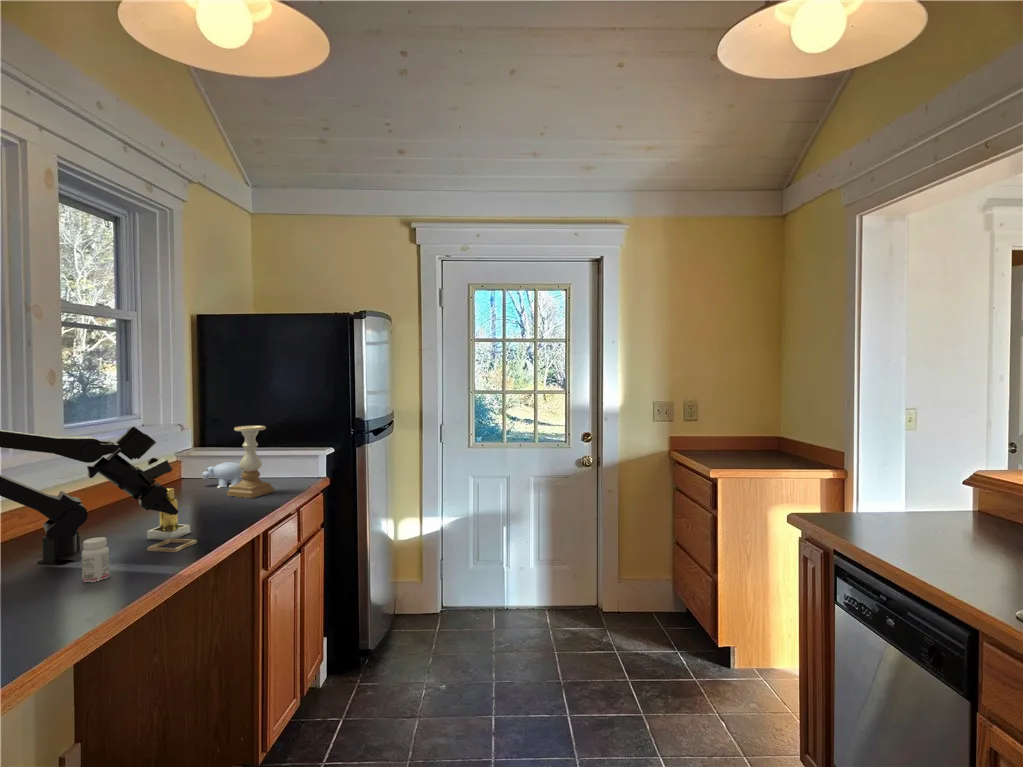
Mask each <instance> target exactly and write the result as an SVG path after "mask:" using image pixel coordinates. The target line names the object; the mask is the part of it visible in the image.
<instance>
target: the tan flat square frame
mask: <svg viewBox="0 0 1023 767" xmlns="http://www.w3.org/2000/svg"><path fill="white" fill-rule="evenodd" d="M197 542H198V539H190V538H176V539H172V538H170V539H167V540H161V541H160V542H158V543H155V544H152V545H150V546H148V547H146V551H147V552H164V553H165V552H167V553H177V552H179V551H181V550H184V549H186V548H188V547H190V546H193V545H195V544H197ZM169 543H178V544H179V543H180V544H181V545H179V546H176V547H163V546H165V545H167V544H169Z"/></svg>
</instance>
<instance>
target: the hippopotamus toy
mask: <svg viewBox="0 0 1023 767" xmlns="http://www.w3.org/2000/svg"><path fill="white" fill-rule="evenodd" d="M242 473H243V470H241V469H240V467H239V463H238V462H234V461H233V462H229V461H228V462H221V463H218V464H216V465H215V466H214V465H211V466H209V467H207V468H206V470H205V471H202V473H201V477H202V480H208V479H211V478H216V479H217V480H218V485H217V487H216V488H217V489H221V488H220V487H225V488H228V487H229V488H231V486H233V485H237V484H238V483H239V482H240V481H241V478H242V477H241V474H242ZM229 483H230V484H229ZM228 484H229V485H228Z"/></svg>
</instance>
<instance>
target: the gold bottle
mask: <svg viewBox="0 0 1023 767" xmlns="http://www.w3.org/2000/svg"><path fill="white" fill-rule="evenodd" d="M166 489H167V490H168V491H167V495H166V497H167V499H168V500H169V501H170V502H171V503H172V504H173V506H174V507H175V508H176V509H177V510H178V499H176V498H175V488H174V487H173V488H171V487H170V488H166ZM178 511H179V510H178ZM178 513H179V512H178ZM178 513H177V514H176V515H173V514H169V513H164V512H159V526H160V531H173V530H175V529H178V524H179V521H178V519H179V516H178Z"/></svg>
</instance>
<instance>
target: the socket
mask: <svg viewBox="0 0 1023 767" xmlns="http://www.w3.org/2000/svg"><path fill="white" fill-rule="evenodd" d="M191 532H192V531H191V525H190V524H184V523H183V524H181V523H180V524H179V523H178V529H175V530H173V531H160V525H159V526H157V527H154V528H151V529H149V530H146V540H159V541H165V540H167V539H170V538H172V539H179V538H181V537H183V536H185V535H189V534H190V533H191Z"/></svg>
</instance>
